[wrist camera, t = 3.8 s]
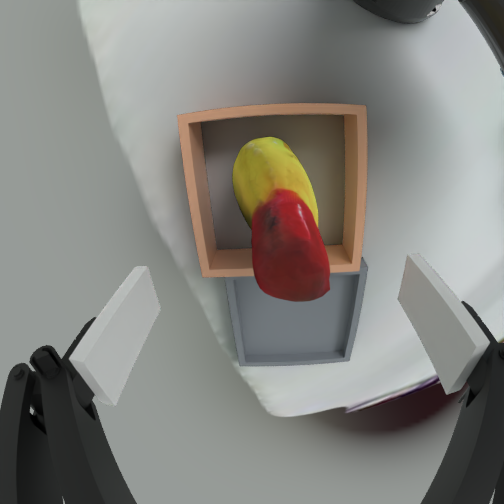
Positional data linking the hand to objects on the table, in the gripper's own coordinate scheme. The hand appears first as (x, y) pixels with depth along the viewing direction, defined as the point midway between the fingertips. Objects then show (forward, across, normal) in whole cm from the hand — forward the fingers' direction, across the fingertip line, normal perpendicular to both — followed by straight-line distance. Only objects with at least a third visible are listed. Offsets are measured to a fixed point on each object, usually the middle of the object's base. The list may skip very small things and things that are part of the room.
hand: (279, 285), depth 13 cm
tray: (+20, +2, -19) cm, 28 cm away
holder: (+20, 0, 0) cm, 20 cm away
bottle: (+20, 0, 0) cm, 20 cm away
